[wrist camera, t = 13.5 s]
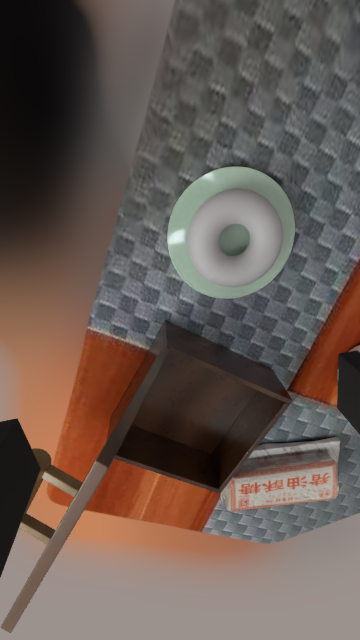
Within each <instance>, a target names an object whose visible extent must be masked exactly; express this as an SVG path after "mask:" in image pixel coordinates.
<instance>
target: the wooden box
mask: <svg viewBox="0 0 360 640" xmlns="http://www.w3.org/2000/svg"><path fill="white" fill-rule="evenodd" d="M163 346H165V347H167V348H169V349H170V352H169V354H168V356H167V357H166V359H165V361H164V363H163V365H162V367H161V369H160V371H159V373H158V375H157V377H156V379H155V381H154V383H153V384H152V386H151V388H150V390H149V392H148V394H147V396H146V398H145V400H144V402H143V404H142V406H141V408H140V410H139V411H138V413H137V415H136V417H135V419H134V421H133V423H132V425H131V427H130V429H129V431H128V433H127V435H126V437H125V438H124V440H123V442H122V444H121V446H120V448H119V450H118V452H117V454H116V456H115V458H114V459H117V460H120V461H123V462H126V463H129V464H132V465H135V466H138V467H141V468H144V469H147V470H150V471H153V472H156V473H159V474H162V475H165V476H168V477H171V478H174V479H177V480H180V481H183V482H186V483H189V484H192V485H195V486H198V487H201V488H204V489H207V490H210V491H213V492H217V493H221V492H222V490H223V489H224V488H225V487H226V486H227V484H228V483H229V482H230V480H231V479H232V478H233V477H234V475H235V474H236V473H237V472H238V470H239V469H240V468H241V466H242V465H243V464H244V463H245V461H246V460H247V459H248V457H249V456H250V455H251V454H252V452H253V451H254V450H255V448H256V447H257V446H258V445H259V443H260V442H261V441H262V439H263V438H264V437H265V436H266V434H267V433H268V432H269V431H270V429H271V428H272V427H273V425H274V424H275V423H276V422H277V420H278V419H279V418H280V416H281V415H282V414H283V413H284V411H285V410H286V409H287V407H288V406H289V404H291V402H292V399H291V398H290V396H289V394H288V393H287V391H286V390H285V388H284V386H283V385H282V383H281V382H280V380H279V379H278V377H277V375H276V374H275V372H274V371H273V370H271V369H269V368H267V367H265V366H263V365H261V364H259V363H256V362H254V361H252V360H250V359H248V358H246V357H243V356H241V355H239V354H237V353H235V352H233V351H230V350H228V349H226V348H224V347H222V346H220V345H217V344H215V343H213V342H211V341H209V340H207V339H205V338H202V337H200V336H198V335H196V334H194V333H192V332H189V331H187V330H185V329H183V328H181V327H179V326H176V325H174V324H172V323H170V322H168V321H166V320H165V321H164V323H163V325H162V327H161V329H160V330H159V332H158V334H157V336H156V338H155V339H154V341H153V343H152V345H151V347H150V348H149V350H148V352H147V354H146V355H145V357H144V359H143V361H142V363H141V364H140V366H139V368H138V370H137V372H136V373H135V375H134V377H133V379H132V381H131V382H130V384H129V386H128V388H127V390H126V391H125V393H124V395H123V397H122V399H121V400H120V402H119V404H118V406H117V407H116V409H115V411H114V413H113V415H112V416H111V419H110V424H109V430H108V435H107V440H108V439H109V437H110V435H111V433H112V432H113V430H114V428H115V427H116V425H117V423H118V422H119V420H120V418H121V417H122V415H123V413H124V412H125V410H126V408H127V407H128V405H129V403H130V402H131V400H132V398H133V396H134V395H135V393H136V391H137V390H138V388H139V386H140V385H141V383H142V381H143V380H144V378H145V376H146V375H147V373H148V371H149V370H150V368H151V366H152V365H153V363H154V361H155V359H156V358H157V356H158V354H159V353H160V351H161V349H162V348H163ZM107 440H106V442H107Z"/></svg>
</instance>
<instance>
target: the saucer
mask: <svg viewBox="0 0 360 640" xmlns="http://www.w3.org/2000/svg"><path fill="white" fill-rule="evenodd" d="M235 188H238V189H246V190H252V191H254V192H256V193H258V194H260V195H262V196H264V197H265V198H267V200H268V201H269V202H270V203H271V204H272V205H273V206H274V207H275V208H276V210H277V212H278V215H279V217H280V219H281V222H282V228H283V242H282V246H281V250H280V254H279V256H278V258H277V259H276V261H275V263H274V265H273V266H272V268H271V269H270V270H269V271H268V272H266V273H265V274H264V275H263V276H262V277H261V278H260V279H258V280H256V281H254V282H252V283H250V284H248V285H244V286H239V287H225V286H219V285H217V284H215V283H212V282H210V281H208V280H206V279H205V278H204V277H203V276H202V275H201V274H200V273H199V272H198V271H197V270H196V269H195V267H194V265H193V263H192V261H191V260H190V258H189V252H188V247H187V237H188V229H189V225H190V223H191V221H192V219H193V217H194V214H195V212H196V211H197V210H198V209H199V208H200V207H201V206H202V204H203V203H204V202H205V201H206V200H207V199H209V198H211V197H212V196H214V195H216V194H217V193H219V192H221V191H226V190H230V189H235ZM294 236H295V219H294V213H293V209H292V206H291V204H290V201H289V199H288V197H287V195H286V194H285V192H284V191H283V189H282V188H281V187H280V186H279V185H278V184H277V183H276V182H275V181H274V180H273V179H272V178H270V177H269V176H267V175H266V174H264V173H262V172H260V171H258V170H255V169H252V168H247V167H239V166H232V167H224V168H220V169H216V170H213V171H210V172H208V173H206V174H204V175H202V176H201V177H199V178H197V179H196V180H195V181H194V182H192V183H191V184H190V185H189V186H188V187H187V188H186V189H185V190H184V191H183V193H182V194H181V195H180V197H179V198H178V200H177V202H176V203H175V205H174V207H173V210H172V212H171V215H170V218H169V222H168V229H167V244H168V251H169V255H170V258H171V261H172V263H173V266H174V267H175V269H176V271H177V273H178V274H179V275H180V277H181V278H182V279H183V280H184V281H185V282H186V283H187V284H188V285H189V286H190V287H192V288H193V289H195V290H196V291H198V292H200V293H202V294H204V295H207V296H210V297H214V298H222V299H232V298H239V297H243V296H247V295H249V294H252V293H254V292H256V291H258V290H260V289H261V288H263V287H264V286H266V285H267V284H268V283H269V282H271V281H272V280H273V279H274V278H275V277H276V276H277V274H278V273H279V272H280V271H281V269H282V268H283V267H284V265H285V263H286V261H287V260H288V258H289V255H290V253H291V250H292V246H293V243H294ZM249 242H250V233H249V231H248V229H247V228H246V227H245V226H243V225H241V224H232V225H230V226H228V227H226V228H225V229H224V230H223V231H222V233H221V235H220V239H219V245H220V248H221V250H222V251H223V252H224V253H225V254H227V255H229V256H236V255H239V254H241V253H243V252H244V251H245V250H246V249H247V247H248V245H249Z"/></svg>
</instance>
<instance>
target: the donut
mask: <svg viewBox="0 0 360 640" xmlns="http://www.w3.org/2000/svg"><path fill="white" fill-rule="evenodd" d="M232 224H241V225H243V226H245V227H246V228H247V229H248V231H249V233H250V242H249V245H248V247H247V249H246V250H245V251H244V252H243V253H241V254H239V255H236V256H229V255H227V254H225V253H224V252H223V251H222V250H221V248H220V245H219V239H220V235H221V233H222V231H223V230H224V229H225V228H226V227H228V226H230V225H232ZM282 242H283V228H282V222H281V219H280V217H279V215H278V212H277V210H276V208H275V207H274V206H273V205H272V204H271V203H270V202H269V201H268V200H267V198H265V197H264V196H262V195H260V194H258V193H256V192H254V191H252V190H246V189H238V188H235V189H230V190H226V191H221V192H219V193H217V194H216V195H214V196H212V197H211V198H209V199H207V200H206V201H205V202H204V203H203V204H202V206H201V207H200V208H199V209H198V210H197V211H196V212H195V214H194V217H193V219H192V221H191V223H190V225H189V229H188V237H187V247H188V252H189V258H190V260H191V261H192V263H193V265H194V267H195V269H196V270H197V271H198V272H199V273H200V274H201V275H202V276H203V277H204V278H205V279H206V280H208V281H210V282H212V283H215V284H217V285H219V286H225V287H239V286H244V285H248V284H250V283H252V282H254V281H256V280H258V279H260V278H261V277H262V276H263V275H264V274H265V273H266V272H268V271H269V270H270V269H271V268H272V266H273V265H274V263H275V261H276V259H277V258H278V256H279V254H280V250H281V246H282Z"/></svg>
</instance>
